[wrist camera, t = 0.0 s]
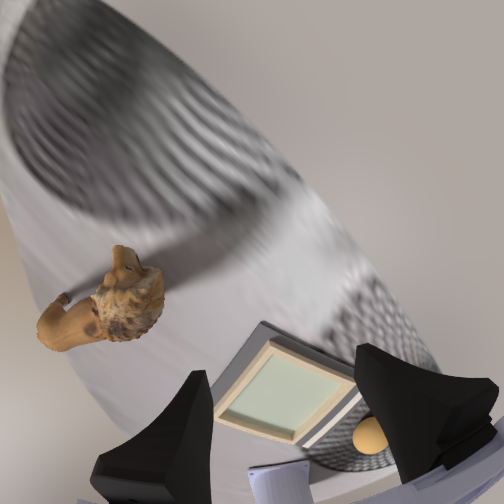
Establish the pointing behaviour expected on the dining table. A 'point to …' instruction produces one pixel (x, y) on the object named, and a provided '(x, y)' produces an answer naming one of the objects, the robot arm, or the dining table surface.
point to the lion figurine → (107, 307)
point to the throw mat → (284, 390)
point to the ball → (369, 437)
